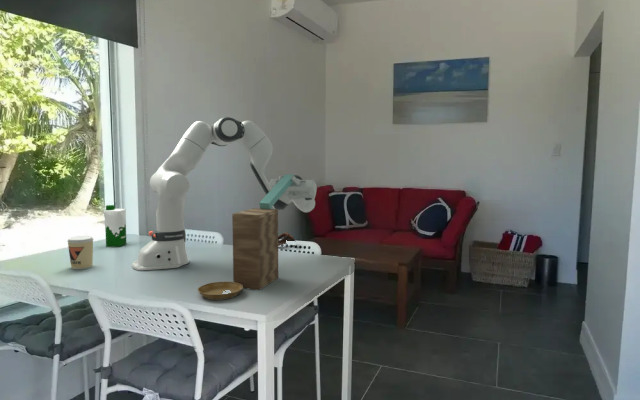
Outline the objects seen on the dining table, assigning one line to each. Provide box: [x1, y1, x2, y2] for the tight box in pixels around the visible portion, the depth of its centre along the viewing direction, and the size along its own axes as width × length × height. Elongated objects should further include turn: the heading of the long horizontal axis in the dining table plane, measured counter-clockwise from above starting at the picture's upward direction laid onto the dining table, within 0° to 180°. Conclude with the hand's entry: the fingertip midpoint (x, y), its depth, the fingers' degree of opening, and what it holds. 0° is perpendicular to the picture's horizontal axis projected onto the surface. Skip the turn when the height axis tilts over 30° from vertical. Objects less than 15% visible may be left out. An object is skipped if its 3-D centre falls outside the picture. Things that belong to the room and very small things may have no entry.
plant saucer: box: [197, 281, 244, 301], centre depth 156 cm, size 15×15×3 cm
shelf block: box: [231, 207, 279, 291], centre depth 169 cm, size 16×10×26 cm, turn 161°
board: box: [258, 174, 295, 209], centre depth 185 cm, size 26×4×2 cm, turn 161°
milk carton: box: [103, 204, 127, 248], centre depth 231 cm, size 9×9×20 cm
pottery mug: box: [278, 232, 296, 247], centre depth 231 cm, size 12×10×8 cm
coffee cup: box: [67, 235, 94, 270], centre depth 190 cm, size 9×9×12 cm
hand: (286, 177), depth 192 cm, fingers closed on board, 4 cm apart
